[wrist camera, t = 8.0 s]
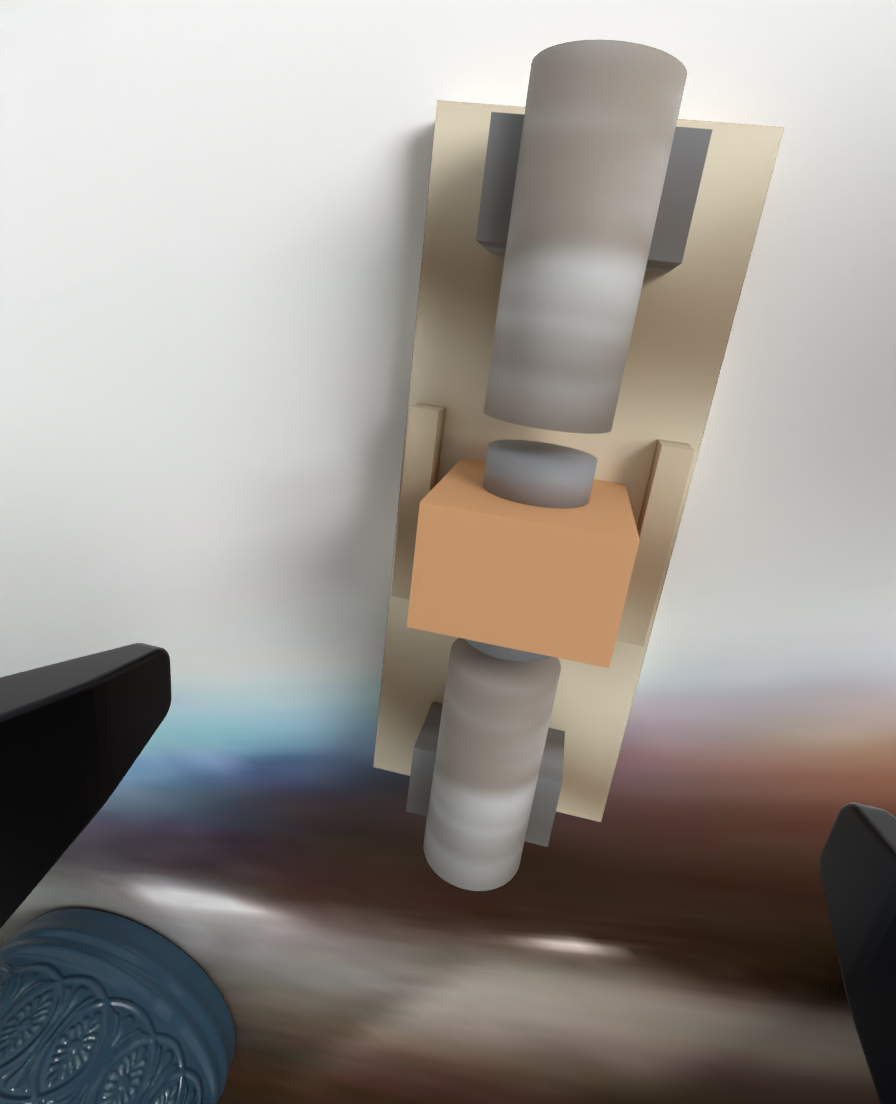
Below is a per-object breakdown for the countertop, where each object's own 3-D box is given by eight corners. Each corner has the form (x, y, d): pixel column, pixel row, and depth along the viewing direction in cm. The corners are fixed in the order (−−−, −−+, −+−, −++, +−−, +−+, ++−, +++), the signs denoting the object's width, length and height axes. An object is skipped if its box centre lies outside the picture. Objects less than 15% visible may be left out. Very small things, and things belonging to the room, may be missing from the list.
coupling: (466, 422, 18) (424, 455, 13) (632, 448, 17) (651, 492, 12) (445, 585, 19) (402, 664, 15) (596, 613, 19) (599, 706, 14)
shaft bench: (447, 115, 16) (390, 26, 12) (769, 142, 15) (856, 55, 10) (383, 746, 23) (331, 853, 19) (600, 797, 22) (604, 926, 17)
